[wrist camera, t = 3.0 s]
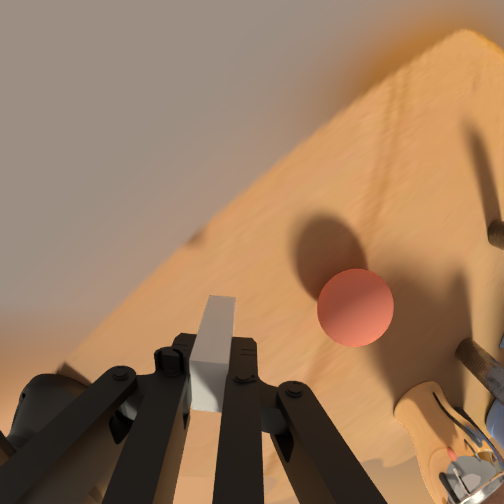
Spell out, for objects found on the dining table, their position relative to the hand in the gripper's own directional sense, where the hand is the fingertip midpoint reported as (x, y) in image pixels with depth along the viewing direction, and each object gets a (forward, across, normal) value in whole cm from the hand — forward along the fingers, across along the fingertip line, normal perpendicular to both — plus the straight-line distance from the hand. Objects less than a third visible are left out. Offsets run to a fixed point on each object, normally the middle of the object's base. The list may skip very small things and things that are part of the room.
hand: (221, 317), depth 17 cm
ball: (+3, -9, 0) cm, 9 cm away
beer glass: (+6, -21, +13) cm, 25 cm away
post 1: (+6, -25, +6) cm, 26 cm away
